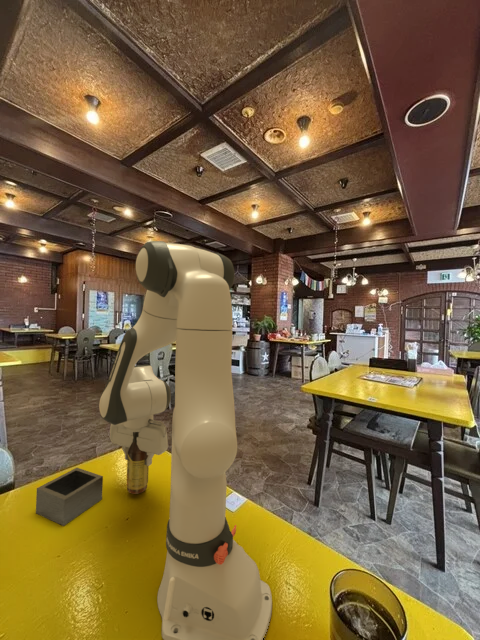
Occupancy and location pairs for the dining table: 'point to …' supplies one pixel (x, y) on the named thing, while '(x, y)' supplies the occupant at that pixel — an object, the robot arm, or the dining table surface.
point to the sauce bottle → (136, 468)
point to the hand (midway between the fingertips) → (138, 461)
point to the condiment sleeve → (69, 495)
